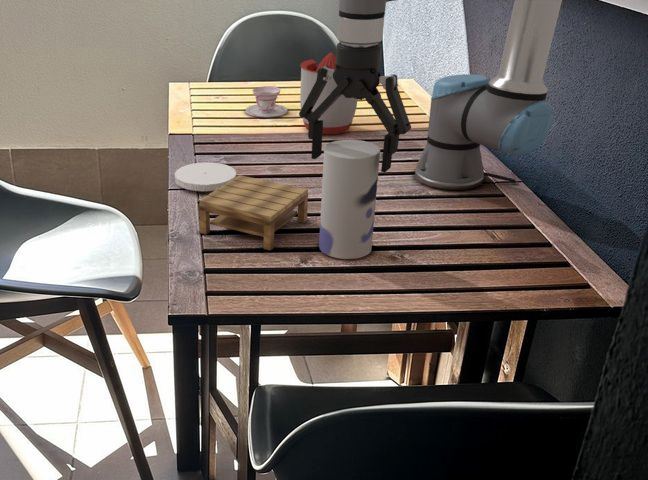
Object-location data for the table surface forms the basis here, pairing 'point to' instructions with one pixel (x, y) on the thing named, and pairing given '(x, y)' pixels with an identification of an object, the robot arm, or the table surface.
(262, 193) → the rack
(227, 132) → the table surface
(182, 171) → the plastic lid
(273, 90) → the teacup
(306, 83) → the citrus juicer
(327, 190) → the container
